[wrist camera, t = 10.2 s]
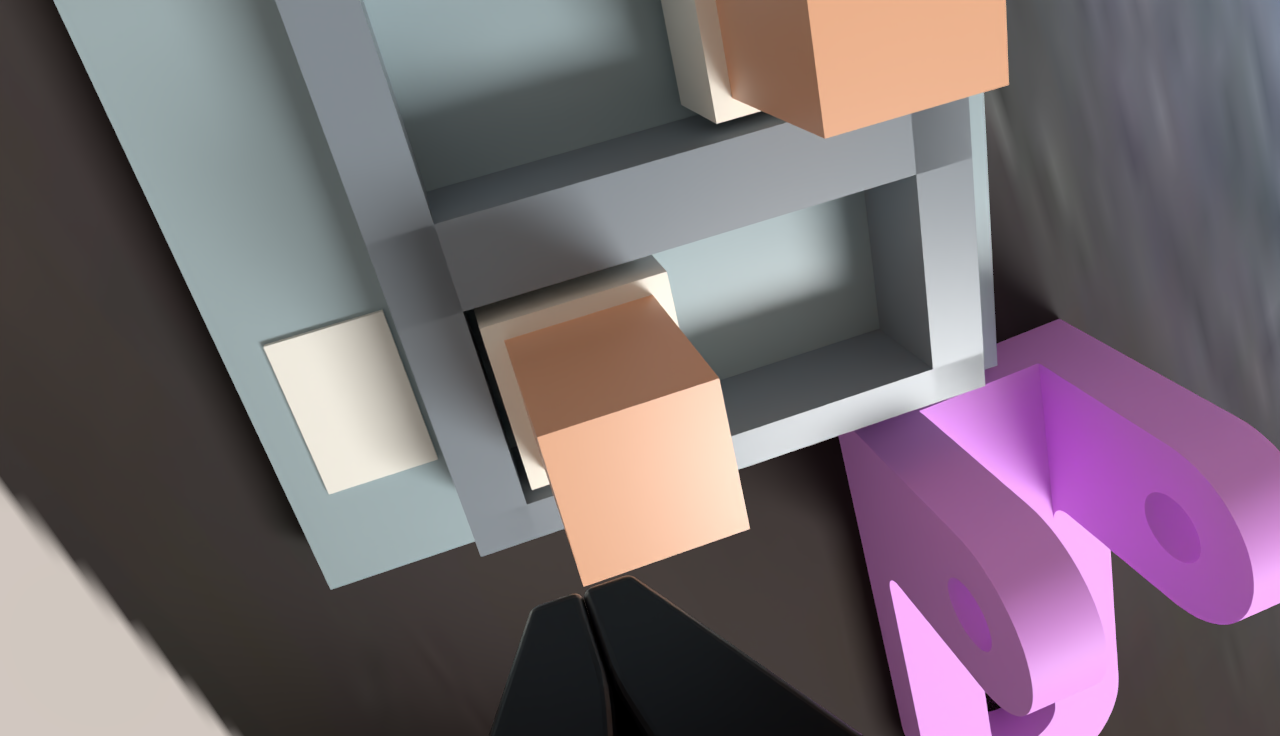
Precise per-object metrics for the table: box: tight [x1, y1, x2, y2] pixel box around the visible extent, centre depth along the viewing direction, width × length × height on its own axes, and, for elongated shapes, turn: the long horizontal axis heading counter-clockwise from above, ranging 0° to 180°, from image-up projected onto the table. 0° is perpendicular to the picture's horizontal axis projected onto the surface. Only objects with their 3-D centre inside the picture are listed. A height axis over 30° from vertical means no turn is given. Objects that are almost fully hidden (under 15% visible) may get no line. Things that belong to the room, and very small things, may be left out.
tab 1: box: [474, 255, 750, 586], centre depth 15 cm, size 3×3×5 cm
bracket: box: [838, 319, 1280, 736], centre depth 21 cm, size 13×6×7 cm, turn 17°
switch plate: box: [53, 0, 998, 590], centre depth 16 cm, size 12×14×3 cm
